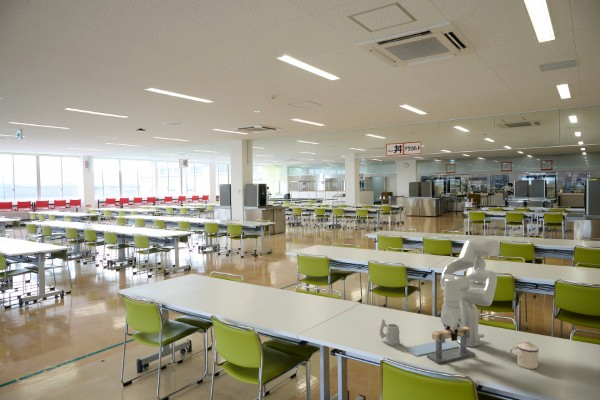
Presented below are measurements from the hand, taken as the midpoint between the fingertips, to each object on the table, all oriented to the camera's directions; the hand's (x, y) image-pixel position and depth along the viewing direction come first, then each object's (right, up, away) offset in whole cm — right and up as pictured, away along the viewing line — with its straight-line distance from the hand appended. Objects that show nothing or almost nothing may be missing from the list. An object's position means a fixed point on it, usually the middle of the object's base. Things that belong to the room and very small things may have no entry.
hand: (451, 338), depth 193 cm
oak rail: (0, +3, 0) cm, 3 cm away
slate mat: (-6, -9, +11) cm, 15 cm away
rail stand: (0, -9, 0) cm, 9 cm away
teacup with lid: (+32, -10, -8) cm, 34 cm away
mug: (-27, -9, +18) cm, 34 cm away
